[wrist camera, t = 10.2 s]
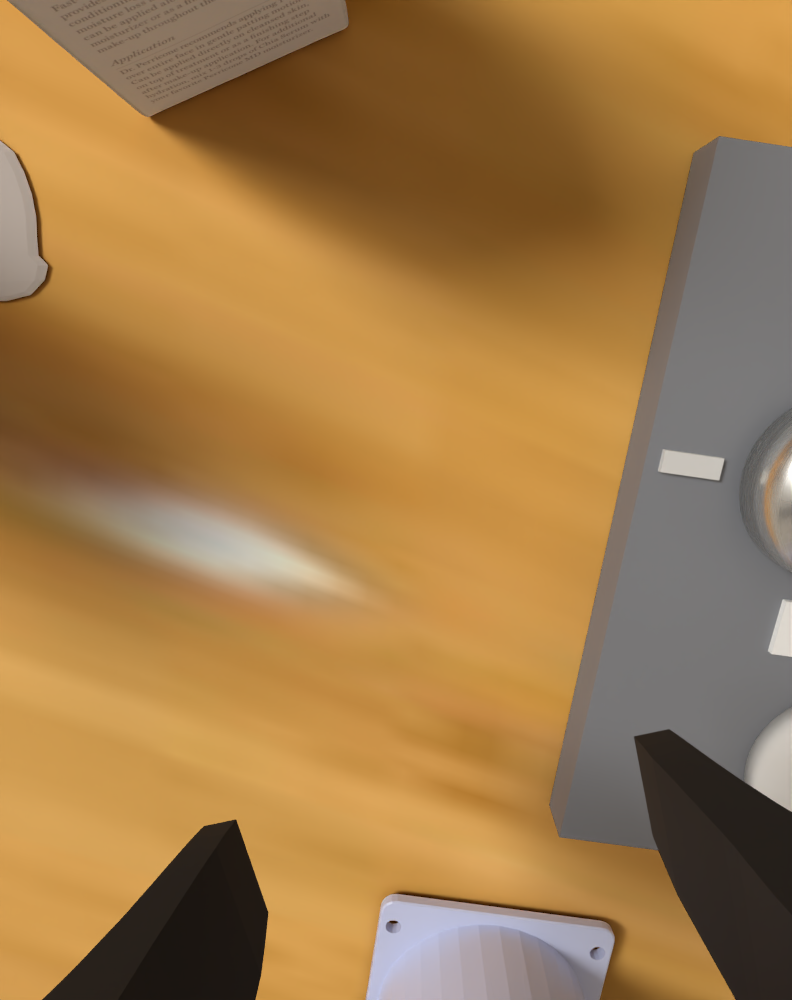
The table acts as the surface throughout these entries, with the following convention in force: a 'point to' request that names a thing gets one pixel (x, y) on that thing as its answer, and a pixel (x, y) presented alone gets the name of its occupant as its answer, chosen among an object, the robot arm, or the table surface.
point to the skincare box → (180, 40)
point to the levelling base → (695, 518)
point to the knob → (770, 492)
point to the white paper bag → (17, 232)
